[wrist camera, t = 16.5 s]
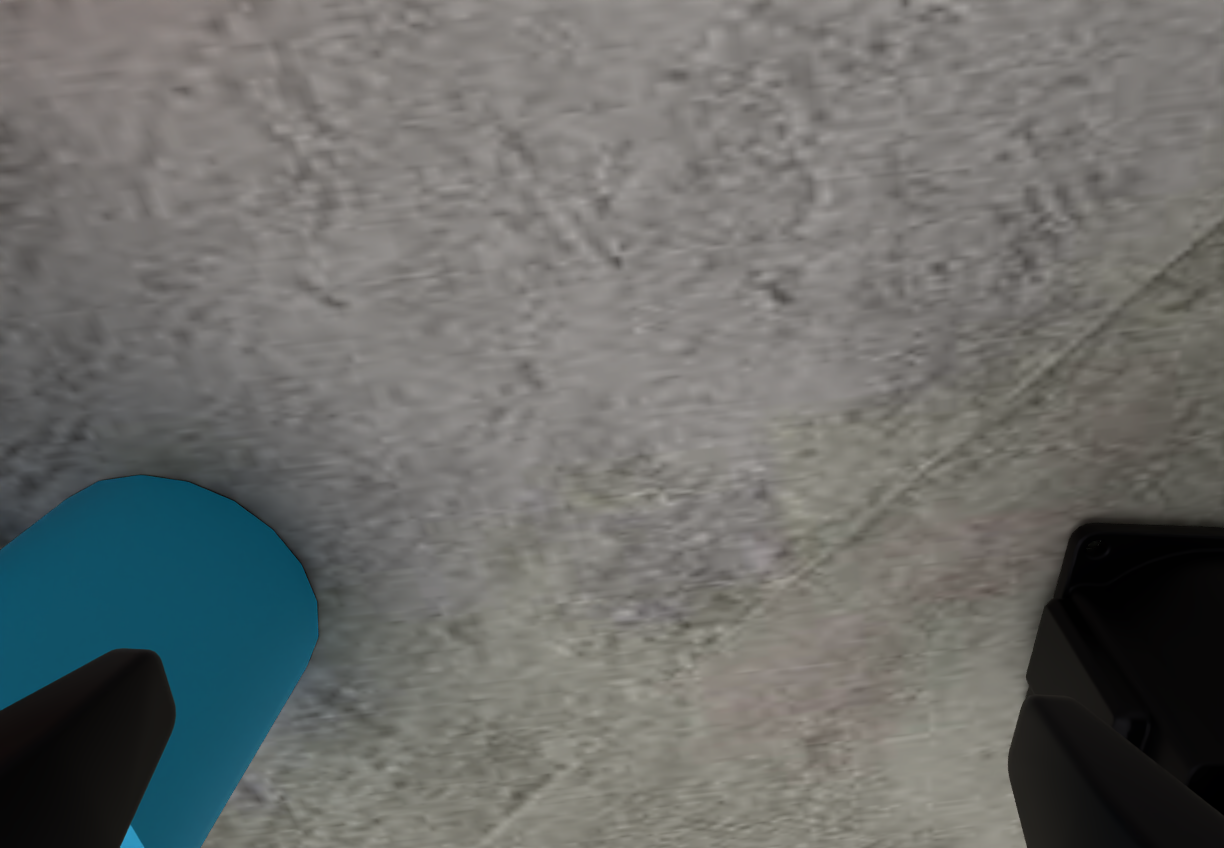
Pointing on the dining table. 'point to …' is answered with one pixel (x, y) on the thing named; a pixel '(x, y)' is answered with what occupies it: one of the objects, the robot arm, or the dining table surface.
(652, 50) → the dining table surface
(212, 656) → the mug
